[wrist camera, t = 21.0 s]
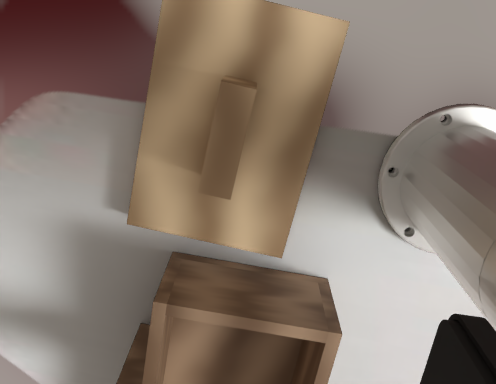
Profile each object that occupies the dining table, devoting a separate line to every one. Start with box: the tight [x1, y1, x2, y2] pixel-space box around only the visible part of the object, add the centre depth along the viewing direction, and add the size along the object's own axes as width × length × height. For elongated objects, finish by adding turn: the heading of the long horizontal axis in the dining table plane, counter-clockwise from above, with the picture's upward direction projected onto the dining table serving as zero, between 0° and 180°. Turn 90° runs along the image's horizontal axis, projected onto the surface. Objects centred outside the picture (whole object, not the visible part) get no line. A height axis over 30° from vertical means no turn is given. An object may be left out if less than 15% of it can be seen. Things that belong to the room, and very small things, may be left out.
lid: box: [127, 0, 350, 258], centre depth 35 cm, size 13×19×6 cm
